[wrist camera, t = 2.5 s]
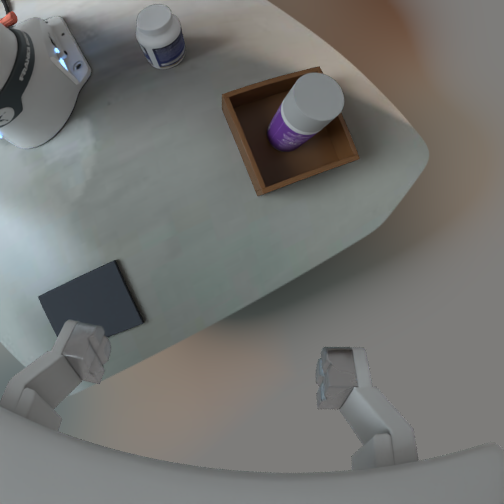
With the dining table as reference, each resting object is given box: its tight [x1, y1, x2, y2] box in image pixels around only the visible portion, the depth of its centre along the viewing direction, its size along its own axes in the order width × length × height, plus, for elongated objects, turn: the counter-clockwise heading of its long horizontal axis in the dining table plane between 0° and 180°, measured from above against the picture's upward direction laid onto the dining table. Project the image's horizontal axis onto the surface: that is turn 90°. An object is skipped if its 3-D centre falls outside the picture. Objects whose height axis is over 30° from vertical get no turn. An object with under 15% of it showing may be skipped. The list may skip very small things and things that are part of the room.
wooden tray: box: [222, 66, 360, 196], centre depth 36 cm, size 12×12×5 cm
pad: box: [38, 260, 144, 337], centre depth 39 cm, size 9×14×1 cm, turn 112°
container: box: [267, 73, 344, 152], centre depth 31 cm, size 5×5×15 cm
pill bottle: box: [136, 4, 186, 69], centre depth 31 cm, size 5×5×10 cm
